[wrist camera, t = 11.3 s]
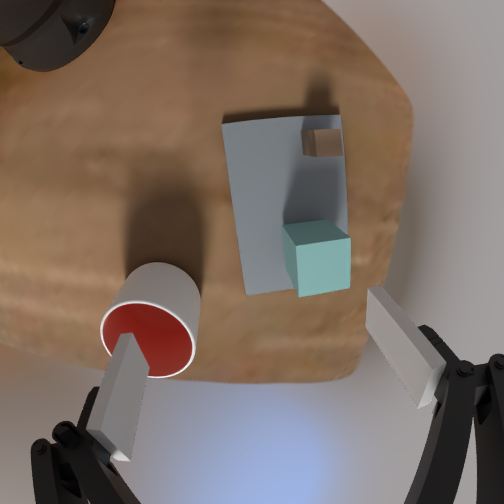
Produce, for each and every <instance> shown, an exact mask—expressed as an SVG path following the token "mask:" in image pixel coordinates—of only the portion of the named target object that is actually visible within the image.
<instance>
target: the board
mask: <svg viewBox="0 0 504 504" xmlns="http://www.w3.org/2000/svg"><path fill="white" fill-rule="evenodd" d="M320 129H341V138H342V149H343V156H331V157H312V156H306V155H303V148H302V139H301V131H309V130H320ZM222 132H223V139H224V147H225V154H226V161H227V168H228V175H229V182H230V189H231V196H232V203H233V210H234V217H235V224H236V231H237V238H238V244H239V251H240V258H241V265H242V271H243V278H244V284H245V291H246V296H247V295H254V294H260V293H267V292H273V291H279V290H286V289H292V288H295V287H294V285H293V283H292V281H291V279H290V277H289V274H288V272H287V270H286V265H285V253H284V242H283V231H282V225H287V224H294V223H302V222H309V221H317V220H324V219H328V220H329V221H330V222H332V223H333V224H334V225H335V226H337V227H338V228H339V229H340V230H342V231H343V232H344V233H345V234H346V235H348V216H347V190H346V172H345V158H344V146H343V135H342V125H341V116H340V115H315V116H295V117H281V118H269V119H259V120H250V121H241V122H234V123H226V124H222Z"/></svg>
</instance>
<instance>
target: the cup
mask: <svg viewBox="0 0 504 504" xmlns="http://www.w3.org/2000/svg"><path fill="white" fill-rule="evenodd" d="M200 307H201V299H200V294H199V290H198V288H197V286H196V284H195V282H194V281H193V280H192V278H191V277H190V276H189V275H188V274H187V273H186V272H184V271H183V270H181V269H180V268H178V267H176V266H174V265H171V264H167V263H161V262H153V263H148V264H144V265H142V266H140V267H138V268H137V269H135V270H134V271H133V272H132V273H131V274H130V275H129V276H128V277H127V279H126V281H125V282H124V284H123V285H122V287H121V288H120V290H119V292H118V293H117V295H116V296H115V298H114V300H113V301H112V303H111V305H110V306H109V308H108V310H107V311H106V313H105V315H104V316H103V318H102V321H101V327H100V333H101V338H102V342H103V344H104V346H105V348H106V350H107V352H108V353H109V354H110V356H112V354H113V351H114V349H115V346H116V344H117V341H118V339H119V337H120V334H124V333H133V335H134V337H135V339H136V341H137V343H138V345H139V347H140V349H141V351H142V353H143V355H144V357H145V359H146V361H147V363H148V365H149V367H150V368H149V373H148V377H152V378H164V377H170V376H173V375H176V374H178V373H180V372H182V371H183V370H185V369H186V368H187V367H188V366H189V365H190V363H191V362H192V360H193V358H194V355H195V350H196V341H197V332H198V324H199V315H200Z"/></svg>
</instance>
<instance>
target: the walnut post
mask: <svg viewBox="0 0 504 504" xmlns="http://www.w3.org/2000/svg"><path fill="white" fill-rule="evenodd" d="M301 139H302V148H303V155H306V156H312V157H331V156H343V149H342V138H341V129H320V130H309V131H301Z"/></svg>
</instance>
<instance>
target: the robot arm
mask: <svg viewBox="0 0 504 504" xmlns="http://www.w3.org/2000/svg"><path fill="white" fill-rule="evenodd" d="M113 6H114V0H0V46H2V47H3V48H4V49H5V50H6V51H7V52H8V53H9V54H10V55H11V56H12V57H13V58H14V60H15V61H16V62H17V63H18V64H19V65H20V66H22V67H24V68H26V69H30V70H33V71H38V72H47V71H52V70H55V69H58V68H60V67H63V66H65V65H66V64H68V63H70V62H71V61H73V60H74V59H76V58H77V57H78V56H80V55H81V54H82V53H83V52H84V51H85V50H87V49H88V48H89V47H90V46H91V45H92V43H93V42H94V41H95V40H96V39H97V38H98V36H99V35H100V34H101V32H102V31H103V29H104V28H105V26H106V24H107V22H108V20H109V18H110V16H111V13H112V10H113ZM366 328H367V330H368V331H369V333H370V334H371V336H372V337H373V339H374V340H375V342H376V343H377V345H378V347H379V348H380V350H381V351H382V353H383V354H384V356H385V357H386V359H387V361H388V362H389V364H390V365H391V367H392V368H393V370H394V372H395V373H396V375H397V376H398V378H399V380H400V381H401V383H402V384H403V386H404V387H405V389H406V391H407V392H408V394H409V396H410V398H411V399H412V401H413V402H414V404H415V405H416V407H417V408H420V407H422V406H425V405H427V404H429V403H430V402H431V401H432V398H433V396H435V397H436V398H437V400H438V401H437V403H436V405H435V407H434V409H433V411H432V413H433V414H434V415H433V419H432V423H431V427H430V431H429V434H428V438H427V441H426V444H425V448H424V451H423V454H422V457H421V460H420V463H419V466H418V469H417V472H416V475H415V477H414V480H413V483H412V485H411V488H410V491H409V493H408V495H407V497H406V500H405V502H404V504H453V502H454V499H455V496H456V493H457V490H458V486H459V483H460V479H461V475H462V471H463V467H464V463H465V458H466V454H467V449H468V444H469V438H470V433H471V426H472V418H473V417H474V427H475V438H476V454H477V501H476V504H504V355H503V354H495V355H493V356H491V357H490V360H489V362H488V363H485V364H480V365H473V364H472V363H471V362H469V361H465V360H461V361H460V360H459V359H458V357H457V356H456V355H455V354H454V353H453V351H452V350H451V349H450V348H449V347H448V346H447V345H446V343H445V342H443V340H442V339H441V338H440V337H439V335H438V334H437V333H436V332H435V331H434V330H433V329H432V328H430V327H428V326H426V325H422V326H419V327H417V326H416V325H415V324H414V323H413V322H412V321H411V320H410V318H409V317H408V316H407V315H406V314H405V313H404V311H403V310H402V309H401V308H400V307H399V306H398V305H397V304H396V302H395V301H394V300H393V299H392V298H391V297H390V296H389V295H388V294H387V293H386V292H385V290H384V289H383V288H382V287H381V286H380V285H378V286H374V287H371V288H368V295H367V313H366ZM149 368H150V367H149V365H148V363H147V361H146V359H145V357H144V355H143V353H142V351H141V349H140V347H139V345H138V343H137V341H136V339H135V337H134V335H133V333H124V334H120V337H119V339H118V341H117V344H116V346H115V349H114V351H113V354H112V356H111V359H110V362H109V364H108V367H107V369H106V372H105V375H104V377H103V380H102V383H101V386H100V387H94V388H93V389H92V390H91V391H90V392H89V394H88V396H87V399H86V403H85V404H84V407H83V410H82V412H81V416H80V418H79V421H78V424H77V427H75V426H74V424H73V423H72V422H70V421H63V422H60V423H59V424H57V425H56V426H55V428H54V429H53V432H52V438H53V439H54V440H55V441H56V442H57V443H55V444H51V443H50V442H49V441H47V440H46V439H44V438H42V439H38V440H36V441H35V442H34V443H33V445H32V446H31V465H32V477H33V486H34V494H35V501H36V504H89V503H88V500H89V502H90V504H141V503H140V502H139V500H138V499H137V498H136V497H135V495H134V494H133V493H132V491H131V490H130V489H129V487H128V486H127V484H126V483H125V482H124V480H123V479H122V477H121V476H120V474H119V473H118V471H117V470H116V468H115V467H114V465H113V463H112V462H111V461H110V456H111V455H112V456H113V457H114V458H115V459H116V460H120V461H131V457H132V451H133V445H134V440H135V434H136V429H137V424H138V419H139V414H140V409H141V404H142V399H143V395H144V390H145V386H146V381H147V377H148V373H149ZM87 499H88V500H87Z"/></svg>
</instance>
